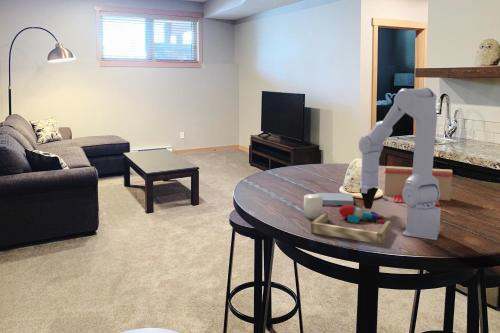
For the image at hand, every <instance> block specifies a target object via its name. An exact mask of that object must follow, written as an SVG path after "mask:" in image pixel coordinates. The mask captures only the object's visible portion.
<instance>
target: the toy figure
mask: <svg viewBox="0 0 500 333" xmlns="http://www.w3.org/2000/svg"><path fill="white" fill-rule="evenodd" d="M338 212H339V214H340V215H341V216H342V217H343V218H345V219H347V222H351V223H357V224H358V223H360V221H361V219H363V220H368V221H370V222H372V223H377V222H378V223H379V224H384V223H385V219H384V217H383V216H380V215H378V213H376V212H375V211H370V212H365V211H363V210H362V208H361V207H357V206H356V205H354V206H353V205H345V206H341V207H339V210H338ZM377 220H378V221H377Z"/></svg>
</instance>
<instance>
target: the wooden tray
mask: <svg viewBox="0 0 500 333" xmlns="http://www.w3.org/2000/svg"><path fill="white" fill-rule="evenodd" d="M328 221H329V212H328V211H324V212H322V215H320V216H319V217H318V218H317V219H313V221H312V222H311V223H310V233H313V234H317V235H318V234H319V235H324V236H329V237H330V236H331V237H335V238H336V237H337V238H341V239H342V238H343V239H347V240H354V241H355V240H356V241H361V242H367V243H373V244H376V245H377V244H378V245H382V243H383V241H384V240H385V238H386V236H388V234H389V232H390V231H391V221H390V220H386V221H384V223H383V224H382V226H381V227H380V229H379V230H378V231H373V230H372V231H371V230H365V229H358V228H353V227H346V226H340V225H333V224H327V222H328Z"/></svg>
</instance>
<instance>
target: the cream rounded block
mask: <svg viewBox="0 0 500 333" xmlns="http://www.w3.org/2000/svg"><path fill="white" fill-rule="evenodd" d="M322 201H323V197H322V196H321V195H318V194H316V193H308V194H305V195H303V217H304V218H306V219H311V220H315V219H317V218H318V217H319V216H320V215H322V214H323V205H322Z"/></svg>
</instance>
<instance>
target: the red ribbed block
mask: <svg viewBox="0 0 500 333" xmlns="http://www.w3.org/2000/svg"><path fill="white" fill-rule="evenodd" d="M412 171H413V167H410V166H409V167H407V166H390V165H388V166H387V165H386V166H385V170H384V172H383V173H384V174H385V175H384V191H383V193H384V194H383V195H384V196H387V195H388V197H393V200H392V201H393V202H394V203H397V202H398V203H403V204H404V203H405V202H404V200H403V196H402V192H403V189H404V187H405V183H406V180H407V179H408V178H409V177H410V175H411V174H412ZM432 175H433V176H434V177H435V178H436V179H438V180H439V190H440V198H439V200H438V201H437V202H435V206H439V207H440V205H441V204H440V201H451V195H452V185H453V184H452V183H453V169H447V168H446V169H443V168H442V169H441V168H433V170H432Z"/></svg>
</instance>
